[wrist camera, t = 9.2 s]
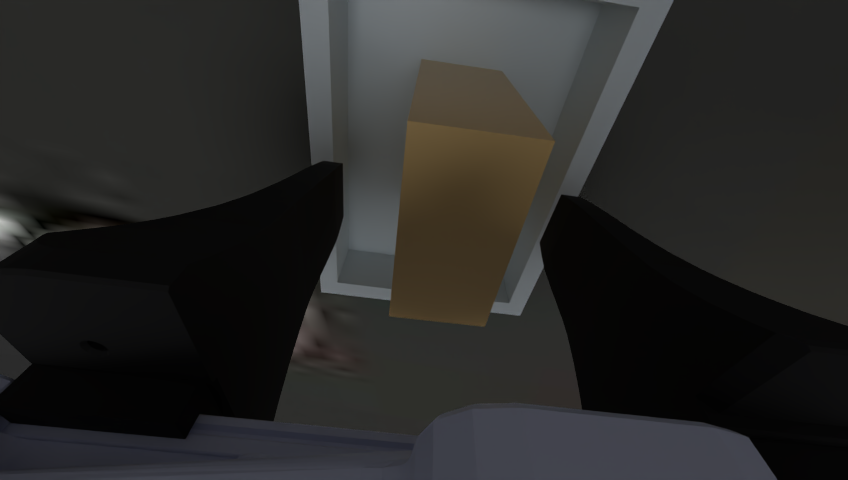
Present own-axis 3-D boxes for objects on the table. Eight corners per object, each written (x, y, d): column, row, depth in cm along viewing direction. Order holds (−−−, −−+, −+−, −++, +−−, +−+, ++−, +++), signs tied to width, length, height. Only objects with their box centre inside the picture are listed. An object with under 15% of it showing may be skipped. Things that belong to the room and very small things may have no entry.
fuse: (502, 70, 12) (555, 140, 7) (468, 207, 16) (484, 326, 10) (421, 58, 12) (407, 120, 6) (406, 199, 16) (388, 316, 10)
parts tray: (631, -23, 11) (685, -26, 8) (509, 274, 19) (519, 315, 17) (325, -79, 10) (291, -98, 8) (336, 252, 19) (321, 292, 16)
